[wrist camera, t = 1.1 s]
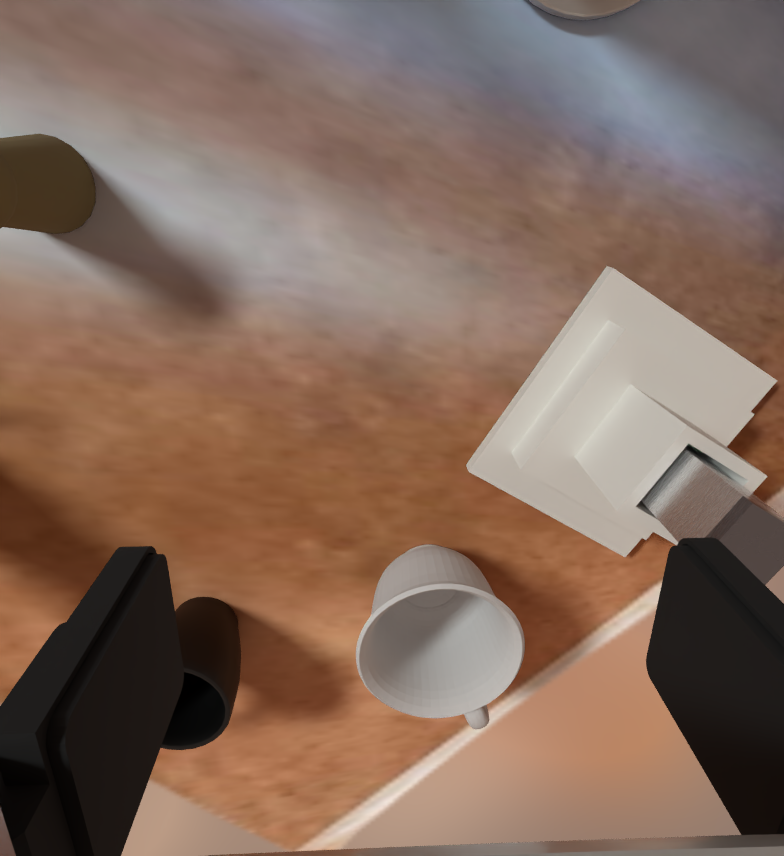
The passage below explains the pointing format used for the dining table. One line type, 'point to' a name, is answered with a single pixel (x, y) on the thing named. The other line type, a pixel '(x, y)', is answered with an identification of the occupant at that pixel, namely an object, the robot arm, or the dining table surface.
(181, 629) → the mug
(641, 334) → the stand
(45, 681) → the robot arm
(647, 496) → the post
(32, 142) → the cork
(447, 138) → the dining table surface
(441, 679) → the teacup
